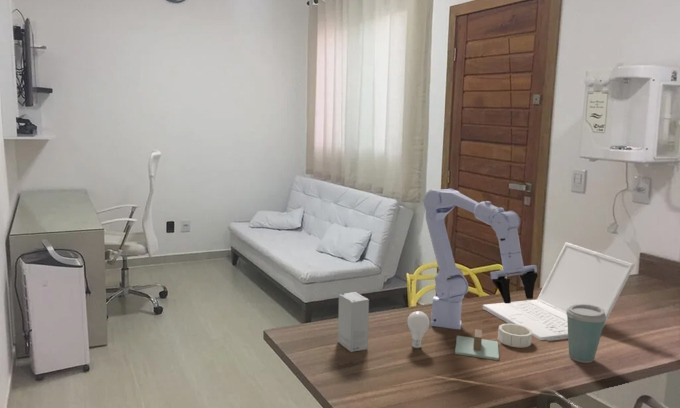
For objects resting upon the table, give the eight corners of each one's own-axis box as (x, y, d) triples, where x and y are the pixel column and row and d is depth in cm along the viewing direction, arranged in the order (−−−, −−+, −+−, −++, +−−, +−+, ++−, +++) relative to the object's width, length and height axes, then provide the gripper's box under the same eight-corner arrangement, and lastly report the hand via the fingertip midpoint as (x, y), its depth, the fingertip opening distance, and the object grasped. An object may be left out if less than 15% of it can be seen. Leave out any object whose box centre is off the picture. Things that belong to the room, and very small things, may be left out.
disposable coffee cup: (580, 368, 156) (587, 316, 154) (552, 352, 166) (558, 303, 163) (608, 363, 160) (616, 313, 158) (579, 348, 170) (585, 300, 168)
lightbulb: (429, 345, 166) (432, 310, 164) (425, 354, 160) (428, 317, 158) (407, 341, 168) (410, 306, 166) (403, 350, 162) (405, 313, 160)
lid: (454, 353, 160) (456, 338, 160) (456, 337, 172) (458, 323, 171) (498, 360, 158) (500, 344, 157) (497, 343, 169) (499, 328, 168)
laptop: (482, 309, 201) (488, 245, 197) (559, 301, 214) (567, 241, 210) (540, 343, 173) (549, 270, 169) (625, 331, 186) (635, 264, 182)
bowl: (498, 346, 169) (499, 333, 168) (497, 333, 178) (498, 321, 177) (532, 350, 166) (533, 337, 166) (529, 338, 176) (530, 326, 175)
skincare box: (368, 349, 161) (371, 299, 159) (349, 353, 158) (352, 302, 156) (353, 338, 168) (356, 290, 166) (335, 341, 165) (338, 292, 163)
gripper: (497, 256, 156) (505, 305, 155) (540, 249, 161) (548, 297, 160) (483, 257, 163) (491, 304, 162) (525, 250, 168) (532, 296, 167)
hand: (518, 300), depth 161 cm, fingers open, 7 cm apart
